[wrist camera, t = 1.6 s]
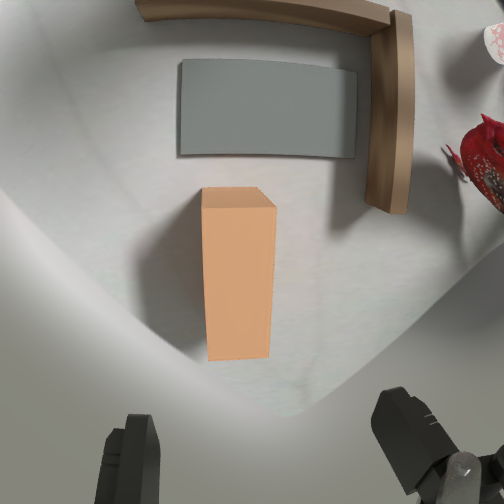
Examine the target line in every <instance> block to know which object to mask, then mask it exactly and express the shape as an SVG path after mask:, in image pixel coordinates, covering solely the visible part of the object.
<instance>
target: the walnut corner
mask: <svg viewBox="0 0 504 504" xmlns="http://www.w3.org/2000/svg"><path fill="white" fill-rule="evenodd" d="M135 4H136V6H137V8H138V10H139V12H140V14H141V15H142V17H143V19H144V21H145V22H147V21H158V20H173V19H200V18H220V19H248V20H263V21H274V22H284V23H292V24H300V25H307V26H314V27H320V28H326V29H331V30H337V31H342V32H346V33H351V34H356V35H360V36H364V37H366V36H368V35H370V34H371V124H370V145H369V161H368V174H367V186H366V197H365V202H366V203H368V204H370V205H372V206H375V207H377V208H379V209H381V210H383V211H385V212H387V213H389V214H406V212H407V204H408V196H409V187H410V177H411V166H412V154H413V138H414V115H415V64H414V42H413V27H412V16H411V15H409V14H407V13H404V12H401V11H398V10H393V11H391V12H389V7H386V6H382V5H379V4H376V3H372V2H369V1H365V0H135Z"/></svg>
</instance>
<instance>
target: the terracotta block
mask: <svg viewBox="0 0 504 504" xmlns="http://www.w3.org/2000/svg"><path fill="white" fill-rule="evenodd" d="M201 211H202V250H203V277H204V298H205V317H206V334H207V350H208V361H223V360H241V359H255V358H268V357H269V347H270V331H271V315H272V297H273V279H274V260H275V239H276V217H277V207H276V206H275V205H274V204H273V203H272V202H271V201H270V200H269V199H268V198H267V197H266V196H265V195H264V194H263V193H262V192H261V191H260V190H259V189H258V188H257V187H208V188H202V207H201Z"/></svg>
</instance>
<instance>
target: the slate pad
mask: <svg viewBox="0 0 504 504" xmlns="http://www.w3.org/2000/svg"><path fill="white" fill-rule="evenodd" d="M356 112H357V72H352V71H347V70H341V69H335V68H328V67H321V66H314V65H306V64H297V63H287V62H276V61H262V60H243V59H183V62H182V90H181V155H182V154H283V155H307V156H324V157H339V158H352V159H354V156H355V138H356Z"/></svg>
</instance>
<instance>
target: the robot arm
mask: <svg viewBox="0 0 504 504" xmlns="http://www.w3.org/2000/svg"><path fill="white" fill-rule="evenodd" d="M371 428H372V431H373V433H374V435H375V437H376V439H377V440H378V442H379V444H380V446H381V448H382V450H383V451H384V453H385V455H386V457H387V459H388V461H389V463H390V464H391V466H392V468H393V470H394V472H395V474H396V476H397V477H398V480H399V482H400V483H401V485H402V487H403V489H404V491H405V493H406V495H410V494H412V493H414V492H418V493H419V495H420V496H419V497H418V499H417V502H416V504H504V499H503V498H502V496H501V494H500V492H499V491H500V490H501V489H502V488H503V489H504V445H503V446H501V447H500V448H499V450H498V451H497V452H496V453H495V454H492V455H487V456H481V457H476V456H475V455H474V454H472V453H470V452H466V451H459V450H458V449H457V447H456V446H455V444H454V443H453V442H452V440H451V439H450V437H449V436H448V434H447V433H446V432H445V430H444V429H443V427H442V426H441V425H440V423H438V422H437V419H436V418H435V416H434V415H432V412H431V411H430V410H429V408H428V407H427V406H426V404H425V403H423V402H422V401H420V400H419V399H418V398H416V397H415V396H414V397H410V395H409V394H408V393H407V391H406V390H405V389H404V388H403V387H396V388H392V389H389V390H384V391H382V392H381V394H380V396H379V399H378V401H377V404H376V407H375V410H374V412H373V414H372V417H371ZM101 463H102V466H101V468H100V473H99V479H98V484H97V490H96V497H95V502H94V504H159V478H160V443H159V439H158V436H157V433H156V430H155V426H154V423H153V419H152V417H151V415H144V414H129V415H128V416H127V420H126V426H125V429H118V428H117V429H116V428H114V429H113V431H112V433H111V434H110V435H109V436H108V438H107V439H106V442H105V447H104V455H103V457H102V462H101Z"/></svg>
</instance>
